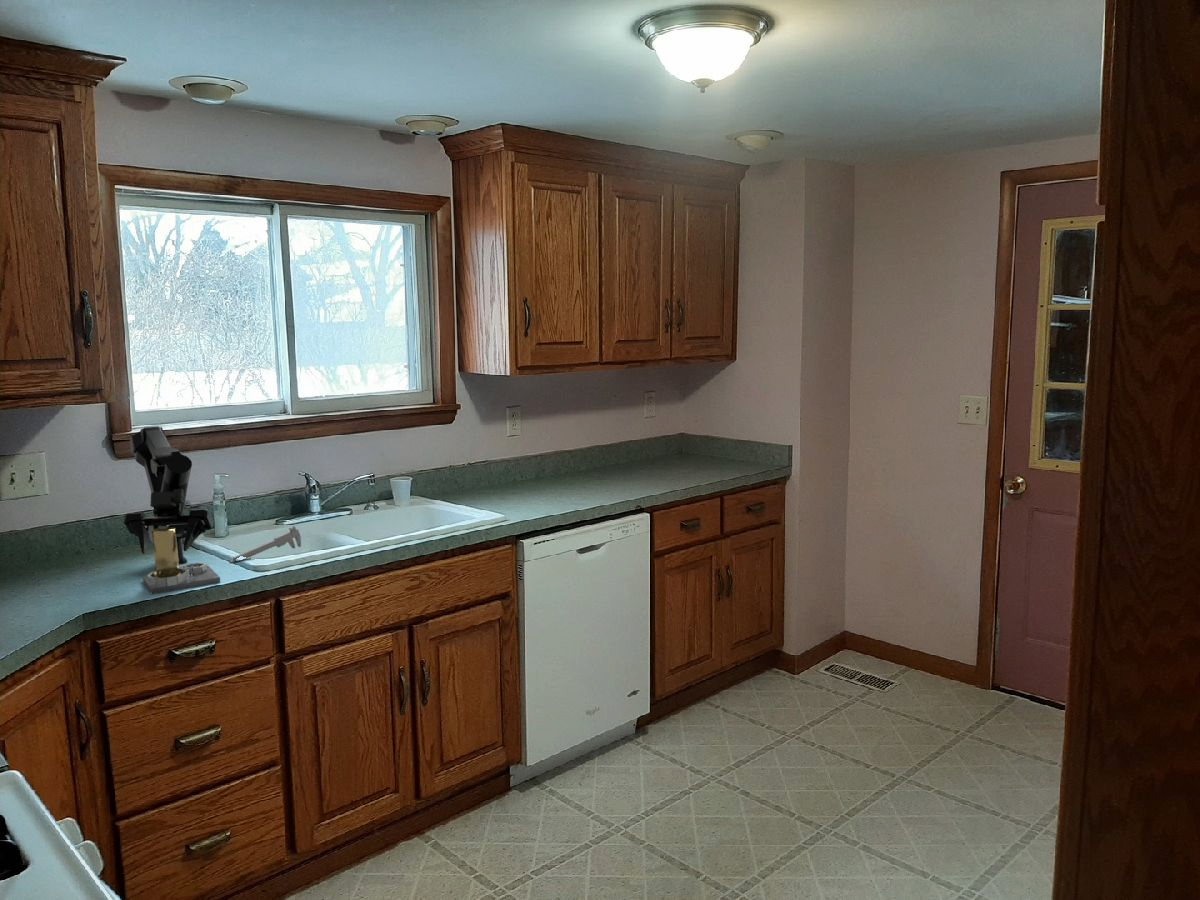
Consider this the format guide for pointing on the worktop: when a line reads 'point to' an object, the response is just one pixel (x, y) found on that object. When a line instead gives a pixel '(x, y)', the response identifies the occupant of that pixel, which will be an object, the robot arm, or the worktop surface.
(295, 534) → the caliper
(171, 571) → the brass cylinder
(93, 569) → the worktop surface
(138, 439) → the robot arm
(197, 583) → the plate
